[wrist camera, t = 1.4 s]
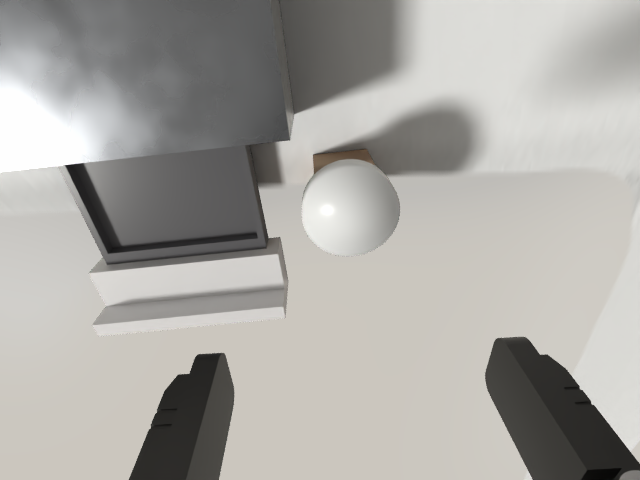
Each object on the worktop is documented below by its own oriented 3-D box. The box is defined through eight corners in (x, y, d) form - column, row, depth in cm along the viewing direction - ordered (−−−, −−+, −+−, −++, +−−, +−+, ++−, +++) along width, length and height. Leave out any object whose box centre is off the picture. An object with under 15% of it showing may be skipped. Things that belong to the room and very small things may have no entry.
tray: (248, 61, 23) (235, 67, 18) (288, 281, 32) (285, 317, 27) (21, 87, 23) (-41, 99, 19) (125, 297, 32) (98, 336, 28)
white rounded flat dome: (394, 153, 21) (400, 162, 20) (394, 239, 24) (399, 251, 23) (296, 164, 21) (295, 173, 20) (307, 248, 24) (307, 260, 23)
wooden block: (366, 148, 26) (378, 171, 22) (368, 198, 28) (379, 228, 24) (313, 154, 26) (314, 178, 22) (318, 203, 28) (320, 234, 24)
